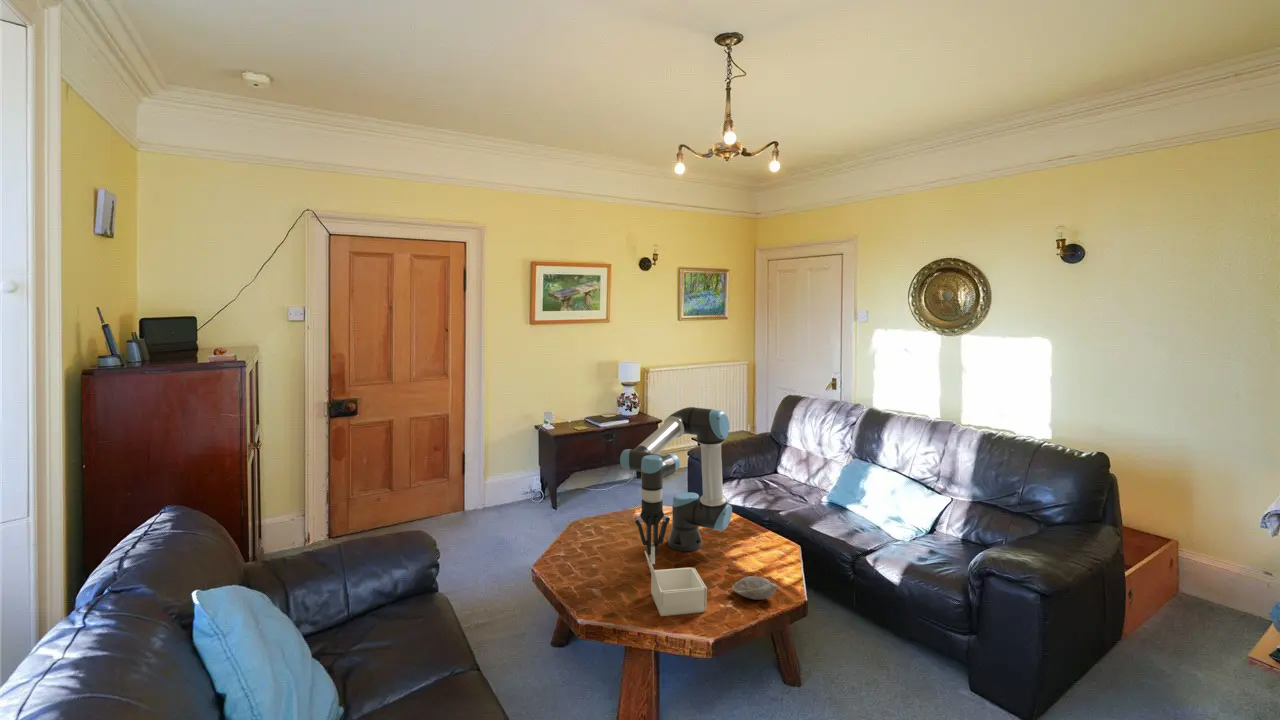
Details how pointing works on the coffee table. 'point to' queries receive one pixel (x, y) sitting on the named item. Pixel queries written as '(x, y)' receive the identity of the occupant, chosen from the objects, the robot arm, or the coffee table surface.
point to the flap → (652, 570)
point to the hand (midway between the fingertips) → (652, 562)
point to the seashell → (755, 588)
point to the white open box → (678, 591)
